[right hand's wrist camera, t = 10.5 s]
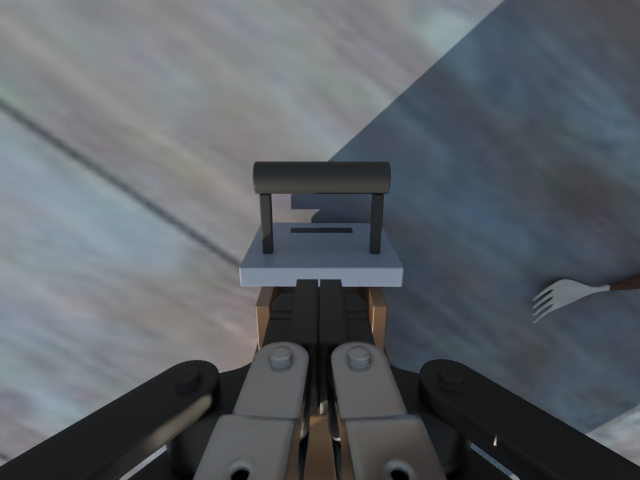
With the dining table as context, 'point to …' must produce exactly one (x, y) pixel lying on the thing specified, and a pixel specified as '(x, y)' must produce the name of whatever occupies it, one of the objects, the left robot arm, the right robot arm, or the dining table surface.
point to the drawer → (322, 241)
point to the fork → (576, 293)
